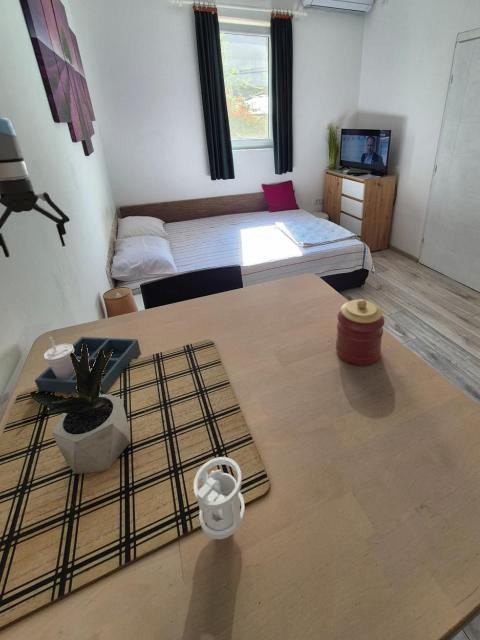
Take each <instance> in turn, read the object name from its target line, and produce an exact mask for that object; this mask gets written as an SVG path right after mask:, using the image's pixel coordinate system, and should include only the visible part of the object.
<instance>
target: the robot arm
mask: <svg viewBox="0 0 480 640" xmlns="http://www.w3.org/2000/svg"><path fill="white" fill-rule="evenodd" d="M28 176H29V172H28V169H27V165H26V161H25V160H24V155H23V153H22V149H21V146H20V143H19V139H18V136H17V134H16V131H15V129H14V126H13V123H12V120H10V119H9V118H8V117H6V116H0V204H1V205H3V206H4V207H5V210H4V212H3V213H2V215H0V230H2V227H3V226H4V224H5V223H6V221H7V220H8V218H9V217H10V216H11V214H12V213H16V214H19V213H22V212H31V211H32V210H34V211H36V212H38V213H40V214H41V215H43V216H44V217H46V218H47V219H50V220H51V221H53V222H54V223H56V224H55V226H56V230H57V233H58V235H59V236H58V237H59V240H60V243H61V246H62V247H66V243H65V240H64V237H63V236H65V235H67V230H66V227H65V224H66V223H69V222H70V220H71V219H70V217H69V216H68V215H67V214H66V213H65V212H64V211H63V210H62V209H61V208H60V207H59V206H58V205H57V204H56V203H55V202H54V201H53V200H52V198H51V197H50V195H49V192H47V191H43V192H42V193H38V194H37V193H36V191H34V188H33V187H34V186H33V184H32V181H31V178H30V177H28ZM39 199H41V201H42V202H46V204H48V205H49V206H50V207H51V208H52V210H54V211H55V212H56V213H57V215H58V216H59V217H58V216H56V215H55V214H53V213H52V212H50V211H49V210H47V209H45V208H44V207H42V206H41V205H39V204H38V203H37V202H38V201H39ZM0 247H1V248H2V249H1V250H2V251H3V254H4V256H5V258H10V255H11V254H10V251H9V249H8V246H7V244H6V241H5V238H4V236H3V233H2V232H0Z"/></svg>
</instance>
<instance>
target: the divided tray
mask: <svg viewBox="0 0 480 640" xmlns="http://www.w3.org/2000/svg"><path fill="white" fill-rule="evenodd" d="M83 343H85V344H86V345H87V348H88V353H89V366H90V369H91V368H92V366H93V364H94V362H95V360H96V358H97V355H98V352H99V350H100V349H103V351H104V355H105V356H106V355H107V354H108V353H109V352H110V350H111V349H113V351H112V352H113V353H112V356H111V358H110V359H109V361H108V363H107V365H106V367H105V370H104V371H108V372H107V373H106V374H105V375H104V376H103V377H102V378H101V380H100V381H101V390H100V393H101V394H105V395H106V394H107V392H108V391H109V390H110V389H111V387H112V386H113V384H114V383H115V382H116V381H117V379H118V378H119V377H120V375H121V374H122V373H123V372H124V371H125V369H126V368H127V367H128V365H129V364H130V362H132V360H137V359H138V358H139V357H140V355H141V354H142V352H141V348H140V344H139V339H137V338H117V337H92V336H91V337H90V336H81V337H80V338H79V339H78V340H76V341H75V343H73V344H71V345H72V346H73V348H74V352H73V353H74V354H75V355H76V358H77V359H78V360H80V357H82V356H81V349H82V344H83ZM34 382H35V385H36V387H37V390H38V391H39V392H50V393H51V392H53V393H69V394H78V393H77V389H76V375H75V373H74V374H73V375H72V376H71V377H70V378H69V379H68V380H64V379H57V377H56V375H55V374H54V372H53V371H52V369H51V367H50V366H49V365H48V367H47V368H46V369H45V370H44V371H43V372H42V373H40V375H38V377H36V378H35V379H34Z"/></svg>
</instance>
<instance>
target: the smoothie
mask: <svg viewBox="0 0 480 640" xmlns="http://www.w3.org/2000/svg"><path fill="white" fill-rule="evenodd" d="M49 341H50V344H51V346H52V347H50V348H48V350H46V351H45V352H44V354H43V359H44V362H45V363H47V364H48V367H49V366H50V367H51V369H52V371H53V372H54V374H55V375H56V379H64V380H68V379H69V378H70V377H71V376H72V375H73V374H74V373H75V372H74V369H73V365H72V363H71V358H70V354H71V353H73V352H74V348H73V346H72V345H73V344H71V343H60V344H57V345H56V344H55V341H54V339H53V337H52V336H50V337H49Z"/></svg>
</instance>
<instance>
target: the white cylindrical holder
mask: <svg viewBox="0 0 480 640" xmlns="http://www.w3.org/2000/svg"><path fill="white" fill-rule="evenodd" d="M220 465H224V466H228V467H231V468H232V469H233V471H235V473H236V475H237V480H236V478H235V477H234V476H233V475H232V474H230V473H227V472H223V471H222V470H223V469H221V468H220V469H216V470H214V469H213V470H211V471H210V473H208V471H209V469H211V468H213V467H215V466H220ZM199 481H200V483H201V487H200V488H199ZM242 484H243V477H242V471H241V468H240V466H239V464H238V463H237V461H235V460H234V459H232V458H230V457H226V456H217V457H214V458H212V459H210V460H208V461H206V462H205V463H203V465H201V466H200V467H199V469H198V470H197V472H196V474H195V476H194V479H193V493H194V497H195V500H196V501H197V503H198V504H197V505H198V508H199V514H198V516H199V517H198V518H199V523H200V527H201V530H202V532H203V533H204V534H205V535H206V536H207V537H208V538H210V539H213V540H224V539H227V538H229V537H230V536H232V535H233V534H235V533H236V532H237V531H238V529H239V528H240V527H241V525H242V523H243V520H244V519H245V513H246V508H245V507H246V506H245V499H244V497H243V494H242V493H241V488H242Z"/></svg>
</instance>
